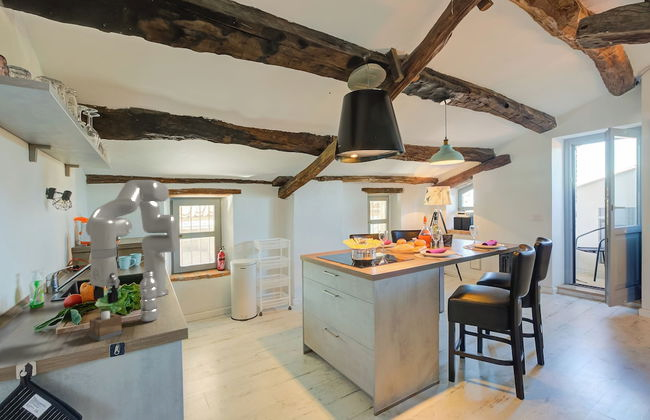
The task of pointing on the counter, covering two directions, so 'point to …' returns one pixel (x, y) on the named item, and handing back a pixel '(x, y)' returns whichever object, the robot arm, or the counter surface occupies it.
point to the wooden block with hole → (105, 325)
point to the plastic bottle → (148, 297)
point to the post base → (105, 316)
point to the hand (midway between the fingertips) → (105, 300)
